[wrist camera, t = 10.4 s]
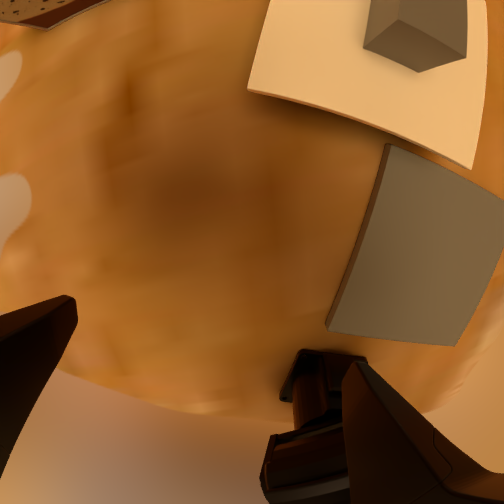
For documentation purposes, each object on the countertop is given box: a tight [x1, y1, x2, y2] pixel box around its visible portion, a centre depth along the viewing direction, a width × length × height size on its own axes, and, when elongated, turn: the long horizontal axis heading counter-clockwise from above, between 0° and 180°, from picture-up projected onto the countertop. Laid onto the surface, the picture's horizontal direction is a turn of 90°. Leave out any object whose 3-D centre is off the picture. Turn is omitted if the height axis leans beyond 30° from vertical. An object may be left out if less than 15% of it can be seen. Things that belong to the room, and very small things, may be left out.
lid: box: [247, 0, 488, 170], centre depth 8 cm, size 12×12×5 cm
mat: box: [325, 144, 504, 346], centre depth 19 cm, size 14×14×1 cm
